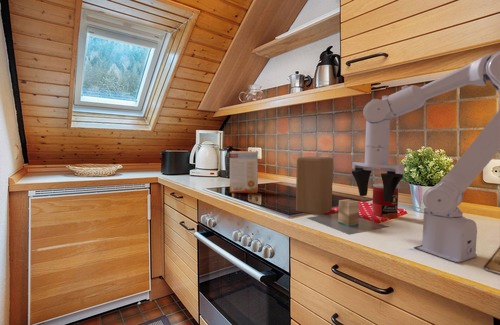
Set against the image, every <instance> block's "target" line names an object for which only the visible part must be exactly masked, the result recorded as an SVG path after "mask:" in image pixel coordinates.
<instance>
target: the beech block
mask: <svg viewBox="0 0 500 325" xmlns="http://www.w3.org/2000/svg"><path fill="white" fill-rule="evenodd" d="M359 212H360V201H359V200H353V199H349V198H348V199H338V223H339V224H342V225H345V226H347V227H350V226H356V225H358V221H359V218H360V216H359V214H360V213H359Z"/></svg>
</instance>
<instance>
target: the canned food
mask: <svg viewBox="0 0 500 325" xmlns="http://www.w3.org/2000/svg"><path fill="white" fill-rule="evenodd" d="M372 185H373V186H372V205H371V207H372V208H371V213H372V215H373V216H376V217H379V218H387V219H393V218H395V219H397V217H398V210H399V208H398V207H399V185H397V187H396V189H395V191H394V194H393V197H392V201H387V202H386V201H384V198H383V191H384V188H383V182H382V183H380V182H379V183H373V184H372Z"/></svg>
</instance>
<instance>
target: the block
mask: <svg viewBox="0 0 500 325" xmlns="http://www.w3.org/2000/svg"><path fill="white" fill-rule="evenodd" d="M333 168H334V159H333V157H331V156H329V157H327V156H301V157H300V156H299V157H297V159H296V186H295V187H296V189H295V193H296V194H295V211H296V212H299V213H305V214H312V215H315V216H323V215H326V214H327V213H329V212H332V210H333V209H332V208H333V181H334V180H333V175H334V173H333V172H334V169H333Z"/></svg>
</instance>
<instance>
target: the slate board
mask: <svg viewBox="0 0 500 325" xmlns="http://www.w3.org/2000/svg"><path fill="white" fill-rule="evenodd" d="M338 213H339V212H338ZM338 213H337V212H336V213H330V214H323V215H315V216H310V217H306V219H307V220H311V221H313V222H316V223H318V224H320V225H323V226H326V227H329V228H331V229H333V230H336V231H339V232H341V233H343V234H346V235H354V234H359V233H364V232H365V233H366V232H370V231H375V230H381V229H385V228H390V226H388V225H384V224H382V223H379V222H376V221H371V220H369V219H366V218H362V217H359V221H358V225H356V226H350V227H347V226H345V225H342V224H339V223H338Z"/></svg>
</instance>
